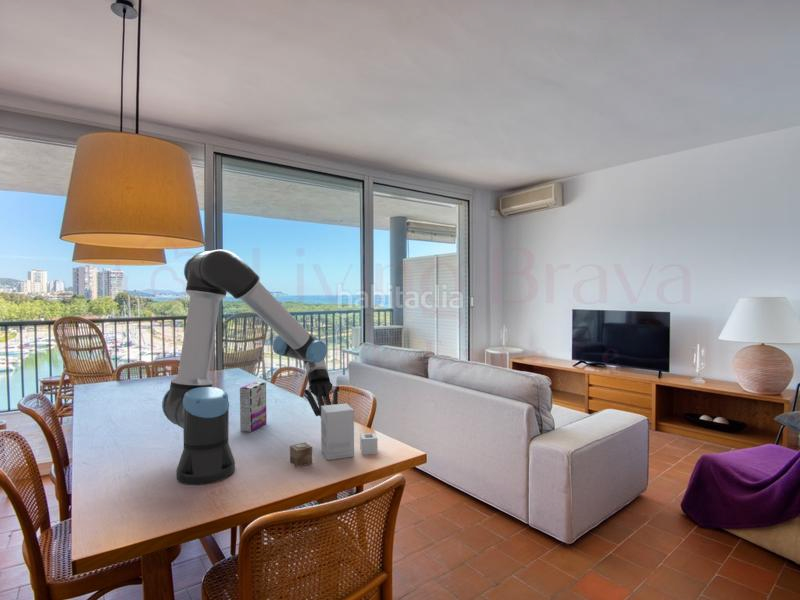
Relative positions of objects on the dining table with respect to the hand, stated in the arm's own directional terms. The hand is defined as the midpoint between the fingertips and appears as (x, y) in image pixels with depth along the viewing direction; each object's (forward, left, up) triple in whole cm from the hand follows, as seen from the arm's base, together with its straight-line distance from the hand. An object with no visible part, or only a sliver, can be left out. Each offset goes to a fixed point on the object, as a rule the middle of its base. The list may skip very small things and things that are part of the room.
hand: (331, 432), depth 142 cm
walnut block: (-12, -8, -5) cm, 15 cm away
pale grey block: (+10, -8, -5) cm, 14 cm away
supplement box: (0, -6, -5) cm, 8 cm away
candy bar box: (-20, +33, -5) cm, 39 cm away
